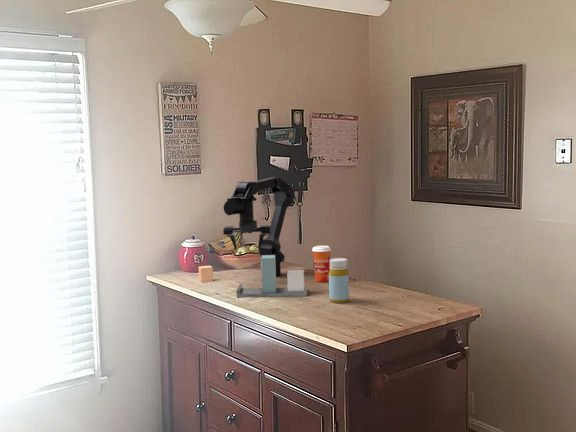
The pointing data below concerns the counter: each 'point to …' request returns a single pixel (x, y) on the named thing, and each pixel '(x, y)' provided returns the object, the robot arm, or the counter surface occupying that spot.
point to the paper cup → (321, 263)
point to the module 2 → (268, 273)
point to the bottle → (338, 280)
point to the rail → (293, 289)
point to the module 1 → (205, 274)
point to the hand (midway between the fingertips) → (247, 250)
